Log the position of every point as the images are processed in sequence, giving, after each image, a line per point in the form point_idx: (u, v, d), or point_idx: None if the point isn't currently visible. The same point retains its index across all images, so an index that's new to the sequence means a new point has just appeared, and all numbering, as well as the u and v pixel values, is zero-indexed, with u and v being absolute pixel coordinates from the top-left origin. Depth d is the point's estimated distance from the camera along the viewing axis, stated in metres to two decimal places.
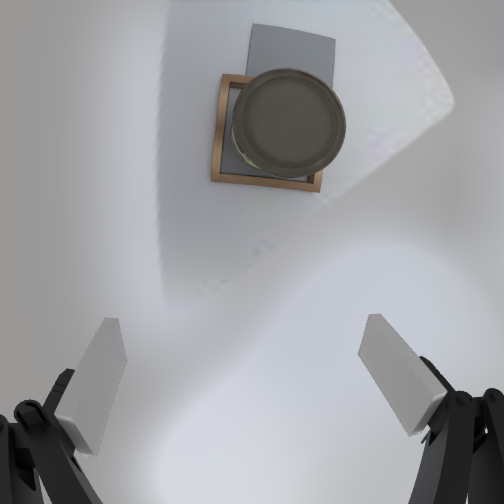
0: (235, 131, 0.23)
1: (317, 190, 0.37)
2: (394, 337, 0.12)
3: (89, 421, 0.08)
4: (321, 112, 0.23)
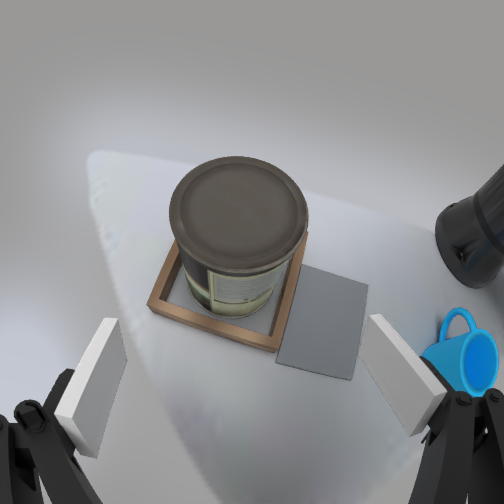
0: (239, 156, 0.23)
1: (149, 302, 0.28)
2: (394, 337, 0.12)
3: (89, 421, 0.08)
4: (245, 242, 0.20)
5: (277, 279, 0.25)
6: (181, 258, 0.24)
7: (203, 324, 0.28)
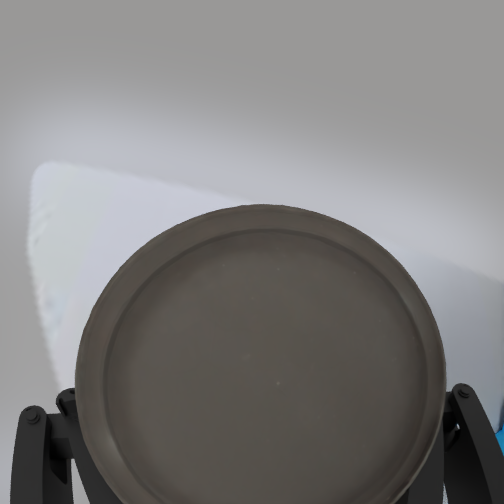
0: (274, 206, 0.08)
1: None
2: None
3: None
4: (299, 494, 0.05)
5: None
6: None
7: None
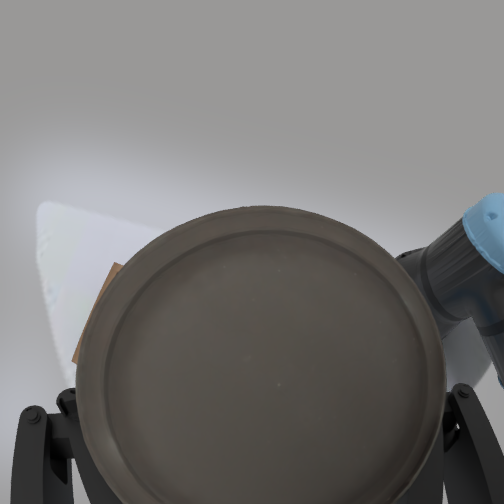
0: (275, 208, 0.08)
1: (73, 359, 0.28)
2: None
3: None
4: (300, 495, 0.05)
5: None
6: None
7: None
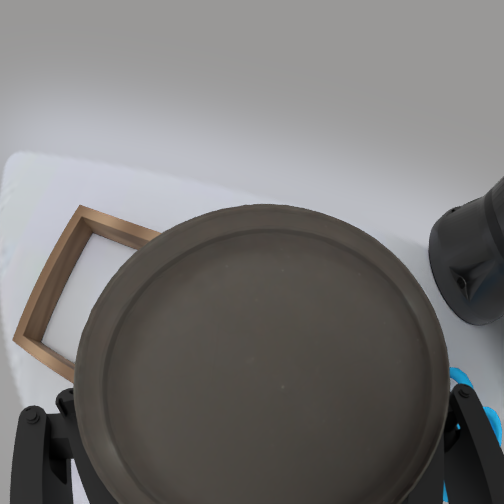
0: (278, 206, 0.08)
1: (15, 338, 0.17)
2: None
3: None
4: (304, 498, 0.05)
5: None
6: None
7: (63, 375, 0.17)
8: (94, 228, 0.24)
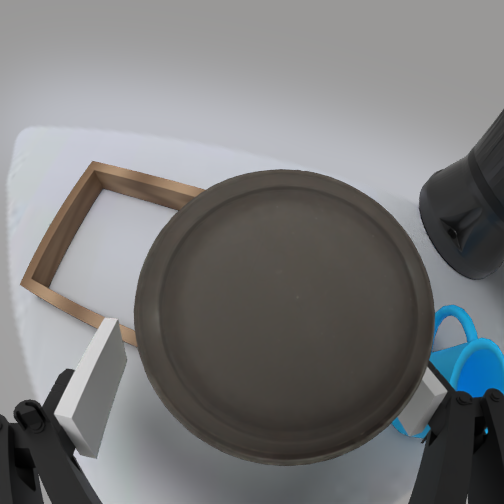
0: (322, 176, 0.11)
1: (23, 282, 0.19)
2: None
3: (89, 421, 0.08)
4: (290, 397, 0.08)
5: None
6: None
7: (68, 312, 0.19)
8: (105, 182, 0.26)
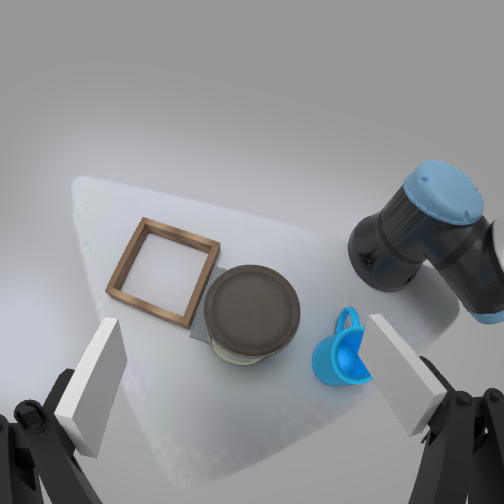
0: (276, 272, 0.32)
1: (107, 289, 0.40)
2: (394, 337, 0.12)
3: (89, 421, 0.08)
4: (241, 334, 0.29)
5: (258, 359, 0.34)
6: None
7: (139, 305, 0.40)
8: (151, 230, 0.47)
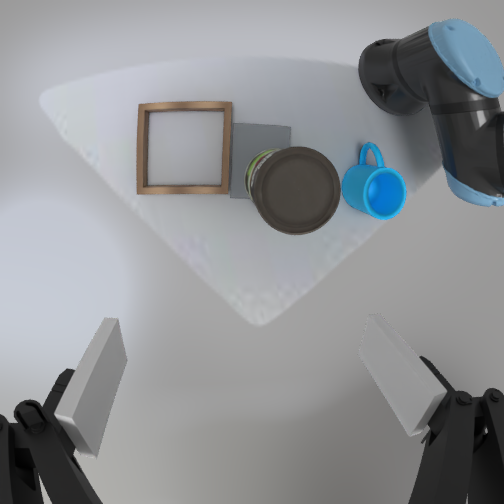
0: (312, 150, 0.31)
1: (138, 192, 0.41)
2: (394, 337, 0.12)
3: (89, 421, 0.08)
4: (294, 216, 0.33)
5: None
6: (251, 192, 0.37)
7: (176, 193, 0.42)
8: (152, 111, 0.39)
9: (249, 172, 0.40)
